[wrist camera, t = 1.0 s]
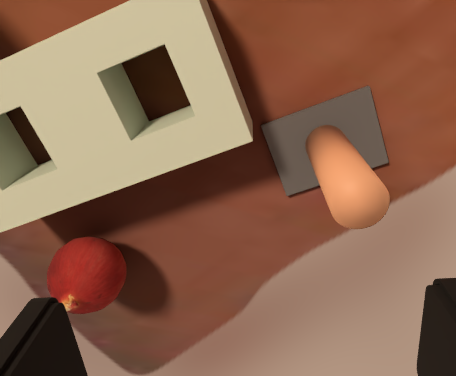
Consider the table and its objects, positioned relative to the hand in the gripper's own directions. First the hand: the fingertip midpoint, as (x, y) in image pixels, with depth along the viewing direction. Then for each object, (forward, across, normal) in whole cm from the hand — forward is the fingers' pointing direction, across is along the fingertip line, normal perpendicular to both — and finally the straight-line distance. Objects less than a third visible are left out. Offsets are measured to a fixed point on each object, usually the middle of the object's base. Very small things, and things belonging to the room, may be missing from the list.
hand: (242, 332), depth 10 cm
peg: (+21, -6, +2) cm, 22 cm away
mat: (+21, -6, +2) cm, 22 cm away
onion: (+21, +13, +10) cm, 27 cm away
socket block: (+21, +11, -2) cm, 24 cm away
